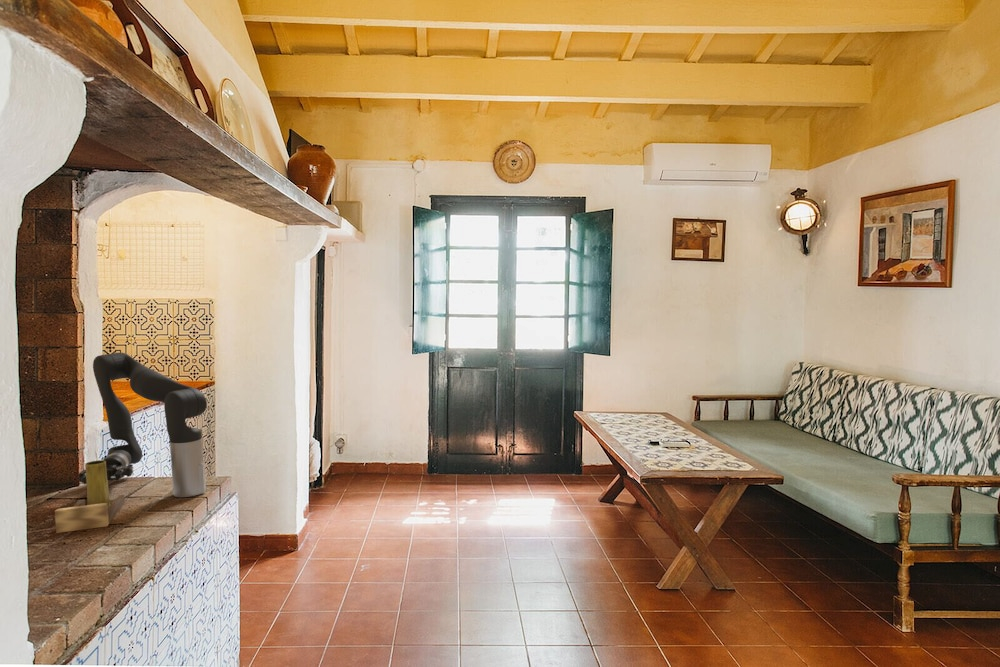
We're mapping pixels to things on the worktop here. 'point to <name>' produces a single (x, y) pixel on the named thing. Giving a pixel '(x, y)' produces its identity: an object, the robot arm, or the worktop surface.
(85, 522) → the track
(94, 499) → the vase
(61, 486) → the worktop surface
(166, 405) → the robot arm
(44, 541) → the worktop surface
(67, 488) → the worktop surface
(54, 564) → the worktop surface
